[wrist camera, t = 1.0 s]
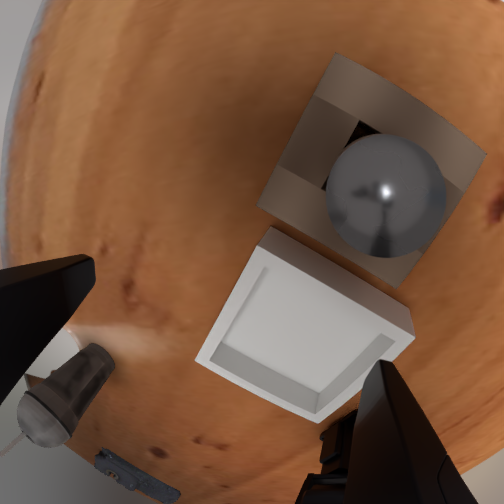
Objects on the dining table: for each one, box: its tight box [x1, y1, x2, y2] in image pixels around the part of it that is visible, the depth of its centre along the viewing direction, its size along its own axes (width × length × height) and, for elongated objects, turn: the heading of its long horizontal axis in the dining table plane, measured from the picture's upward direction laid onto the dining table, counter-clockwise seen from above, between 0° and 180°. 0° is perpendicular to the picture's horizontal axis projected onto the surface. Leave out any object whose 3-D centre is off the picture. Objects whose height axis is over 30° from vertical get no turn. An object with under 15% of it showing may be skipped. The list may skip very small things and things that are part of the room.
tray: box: [195, 226, 416, 424], centre depth 22 cm, size 12×12×4 cm
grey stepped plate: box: [94, 447, 180, 504], centre depth 54 cm, size 15×22×5 cm
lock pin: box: [326, 134, 446, 258], centre depth 14 cm, size 4×4×9 cm
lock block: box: [256, 52, 487, 289], centre depth 16 cm, size 9×9×4 cm
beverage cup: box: [0, 343, 115, 457], centre depth 26 cm, size 7×7×20 cm
